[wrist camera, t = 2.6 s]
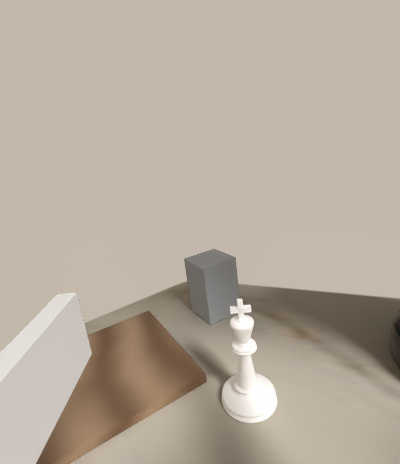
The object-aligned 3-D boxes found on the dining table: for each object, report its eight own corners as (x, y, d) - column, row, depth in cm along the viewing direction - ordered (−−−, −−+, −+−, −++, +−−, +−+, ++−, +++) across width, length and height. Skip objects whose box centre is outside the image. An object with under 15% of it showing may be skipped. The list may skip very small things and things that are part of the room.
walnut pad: (150, 316, 40) (148, 310, 40) (206, 381, 28) (205, 373, 28) (32, 365, 33) (29, 358, 33) (36, 482, 21) (32, 472, 20)
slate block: (219, 297, 43) (214, 248, 41) (240, 310, 39) (235, 257, 37) (191, 309, 41) (184, 258, 39) (210, 325, 37) (203, 269, 35)
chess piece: (282, 422, 23) (277, 315, 20) (222, 424, 23) (208, 320, 21) (271, 375, 28) (265, 283, 25) (221, 378, 28) (210, 288, 25)
